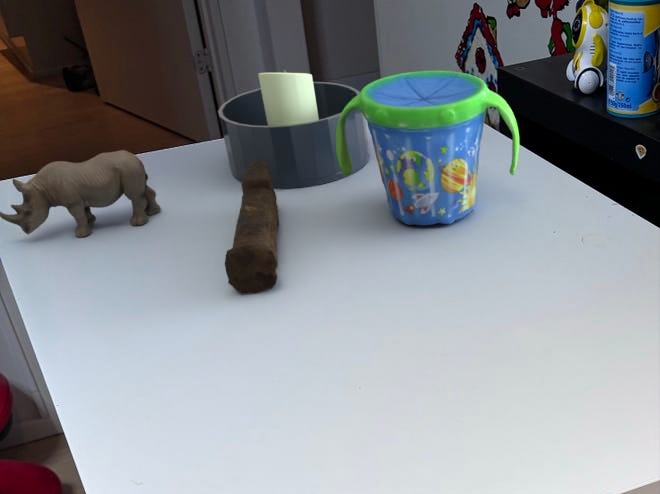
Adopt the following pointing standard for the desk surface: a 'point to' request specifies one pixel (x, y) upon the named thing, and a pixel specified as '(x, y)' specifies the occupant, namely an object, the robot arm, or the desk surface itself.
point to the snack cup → (427, 141)
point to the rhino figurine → (84, 191)
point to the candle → (288, 98)
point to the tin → (294, 138)
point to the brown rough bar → (254, 234)
